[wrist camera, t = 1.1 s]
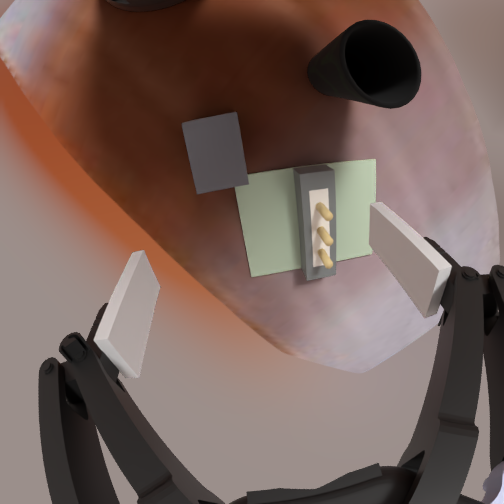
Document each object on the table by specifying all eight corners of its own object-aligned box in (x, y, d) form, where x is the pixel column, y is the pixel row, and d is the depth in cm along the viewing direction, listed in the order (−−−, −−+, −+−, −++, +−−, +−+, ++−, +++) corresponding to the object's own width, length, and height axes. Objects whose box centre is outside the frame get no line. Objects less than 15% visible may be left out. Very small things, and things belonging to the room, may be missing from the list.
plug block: (189, 120, 27) (181, 123, 22) (234, 111, 27) (237, 111, 22) (202, 178, 30) (197, 194, 25) (245, 170, 30) (249, 184, 25)
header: (232, 176, 30) (234, 193, 25) (374, 159, 31) (401, 172, 25) (251, 275, 38) (256, 306, 32) (370, 252, 38) (391, 277, 32)
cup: (329, 117, 28) (382, 126, 17) (284, 69, 25) (319, 48, 14) (371, 81, 25) (435, 79, 15) (330, 33, 22) (382, 6, 12)
